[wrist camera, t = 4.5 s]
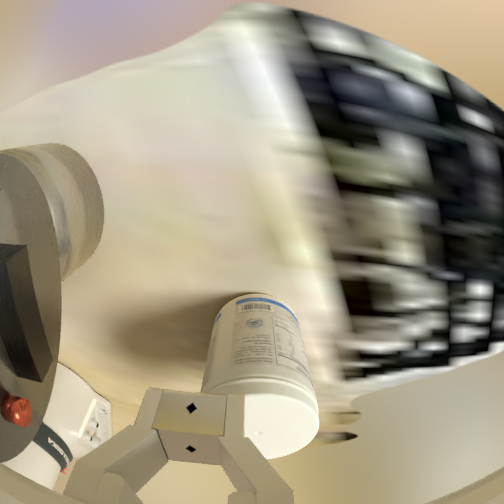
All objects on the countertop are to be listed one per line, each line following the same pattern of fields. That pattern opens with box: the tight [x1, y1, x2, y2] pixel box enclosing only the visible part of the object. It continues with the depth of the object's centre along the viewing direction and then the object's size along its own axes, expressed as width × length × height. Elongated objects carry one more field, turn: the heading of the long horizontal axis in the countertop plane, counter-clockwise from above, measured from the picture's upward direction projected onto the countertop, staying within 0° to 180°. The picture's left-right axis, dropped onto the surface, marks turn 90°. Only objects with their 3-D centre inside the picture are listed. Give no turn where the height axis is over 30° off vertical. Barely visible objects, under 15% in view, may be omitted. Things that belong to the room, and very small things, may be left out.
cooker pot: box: [0, 143, 104, 282], centre depth 24 cm, size 21×16×11 cm
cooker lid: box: [0, 153, 62, 463], centre depth 11 cm, size 16×16×3 cm
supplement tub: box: [201, 294, 319, 459], centre depth 26 cm, size 10×10×15 cm
